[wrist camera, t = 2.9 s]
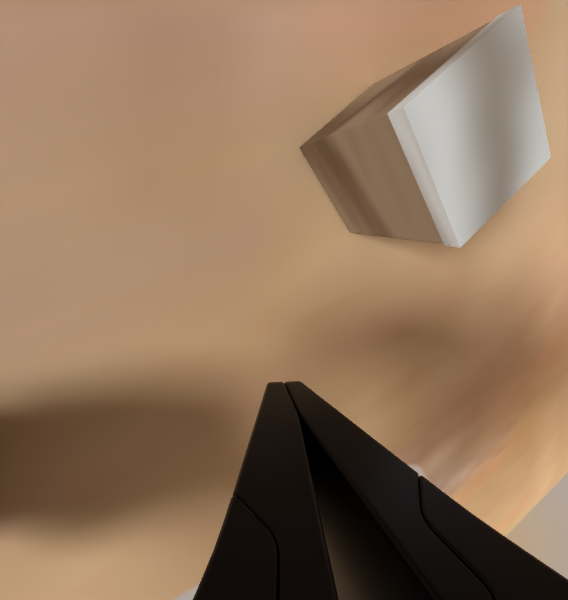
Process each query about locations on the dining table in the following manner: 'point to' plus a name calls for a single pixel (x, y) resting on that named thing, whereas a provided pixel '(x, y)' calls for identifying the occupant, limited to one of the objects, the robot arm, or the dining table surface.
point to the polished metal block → (437, 140)
